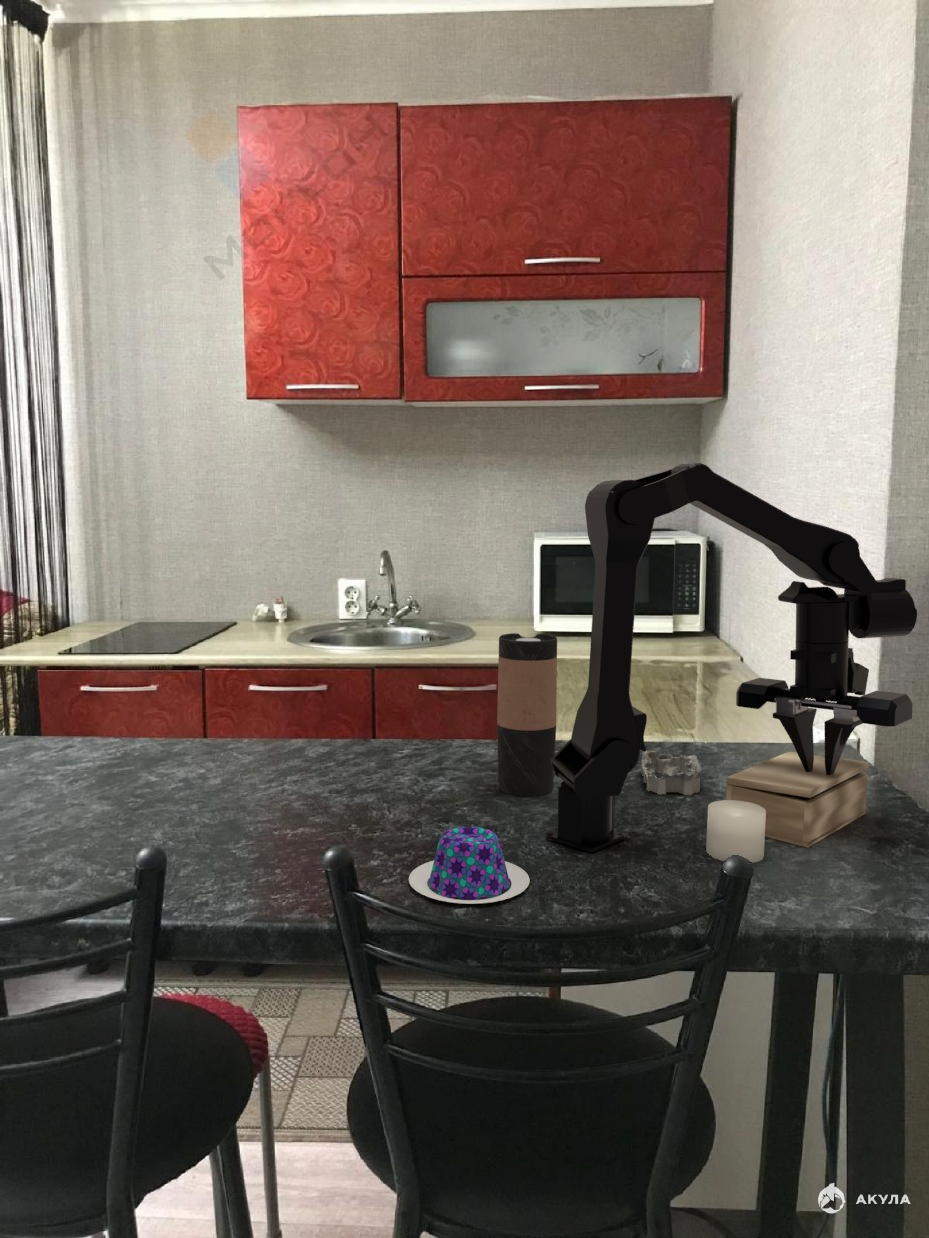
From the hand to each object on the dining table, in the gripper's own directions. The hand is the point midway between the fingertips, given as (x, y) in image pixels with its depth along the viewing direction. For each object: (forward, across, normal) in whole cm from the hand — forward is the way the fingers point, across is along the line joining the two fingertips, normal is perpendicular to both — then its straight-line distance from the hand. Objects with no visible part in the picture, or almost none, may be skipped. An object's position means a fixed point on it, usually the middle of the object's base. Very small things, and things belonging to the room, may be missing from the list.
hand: (819, 773), depth 115 cm
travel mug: (+5, +34, +13) cm, 36 cm away
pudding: (+6, +17, +41) cm, 45 cm away
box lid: (+1, +2, 0) cm, 3 cm away
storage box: (+6, +3, 0) cm, 7 cm away
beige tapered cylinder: (+6, +2, +15) cm, 16 cm away
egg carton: (+6, +21, -2) cm, 22 cm away
